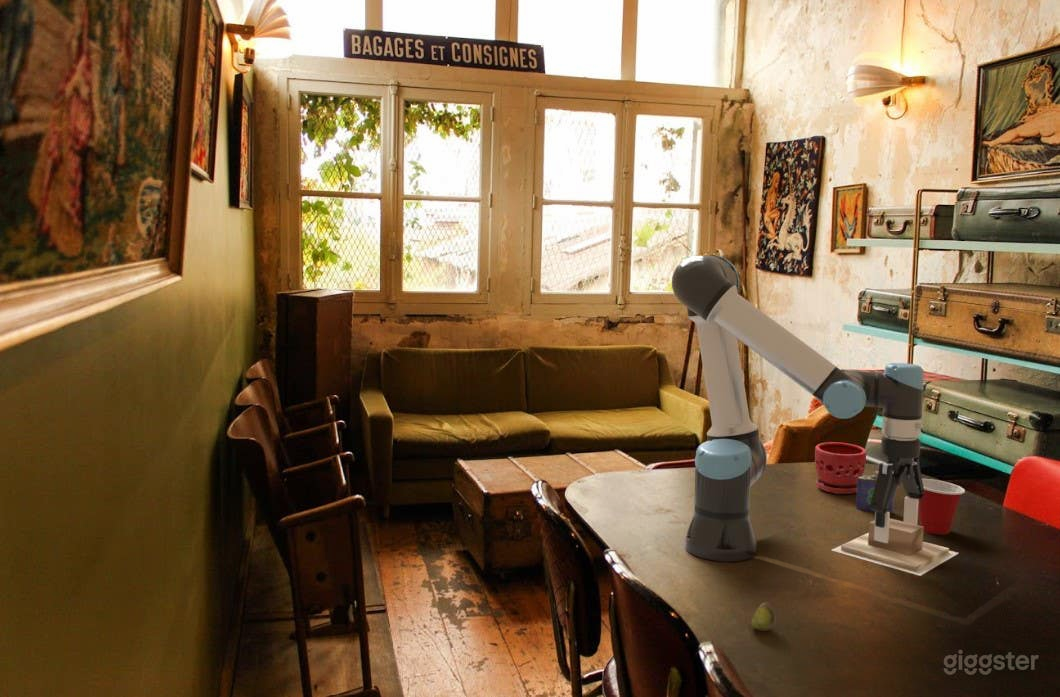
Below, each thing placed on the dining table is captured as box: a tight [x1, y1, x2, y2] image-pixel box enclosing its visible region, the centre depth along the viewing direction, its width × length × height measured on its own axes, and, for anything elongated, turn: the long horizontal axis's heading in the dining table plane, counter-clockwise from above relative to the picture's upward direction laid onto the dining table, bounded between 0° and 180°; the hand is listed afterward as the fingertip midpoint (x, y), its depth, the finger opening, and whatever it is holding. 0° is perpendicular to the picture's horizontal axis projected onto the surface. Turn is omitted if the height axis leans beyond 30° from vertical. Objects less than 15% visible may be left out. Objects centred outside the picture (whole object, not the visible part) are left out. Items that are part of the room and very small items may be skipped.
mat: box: [831, 532, 959, 576], centre depth 179 cm, size 19×19×1 cm
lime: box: [749, 601, 777, 632], centre depth 144 cm, size 4×5×5 cm
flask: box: [855, 470, 895, 515], centre depth 208 cm, size 9×3×11 cm, turn 87°
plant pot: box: [814, 441, 867, 495], centre depth 228 cm, size 13×13×12 cm
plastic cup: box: [917, 478, 966, 536], centre depth 192 cm, size 11×11×12 cm
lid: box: [840, 518, 950, 572], centre depth 179 cm, size 16×16×6 cm
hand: (895, 534), depth 178 cm, fingers open, 13 cm apart
